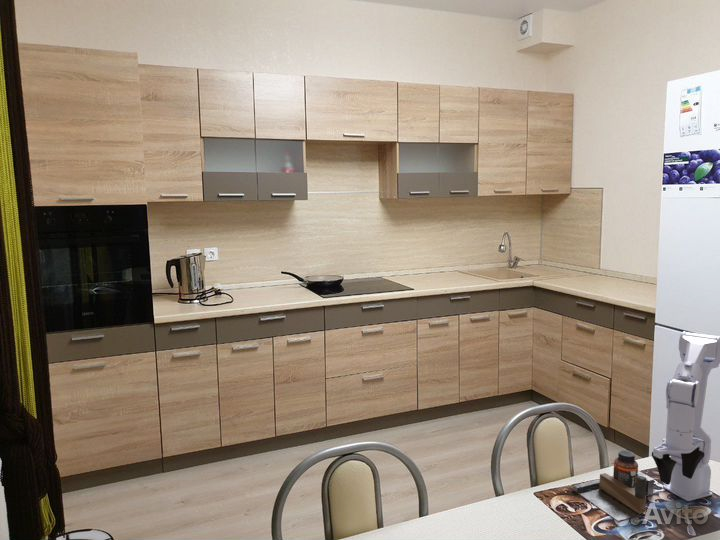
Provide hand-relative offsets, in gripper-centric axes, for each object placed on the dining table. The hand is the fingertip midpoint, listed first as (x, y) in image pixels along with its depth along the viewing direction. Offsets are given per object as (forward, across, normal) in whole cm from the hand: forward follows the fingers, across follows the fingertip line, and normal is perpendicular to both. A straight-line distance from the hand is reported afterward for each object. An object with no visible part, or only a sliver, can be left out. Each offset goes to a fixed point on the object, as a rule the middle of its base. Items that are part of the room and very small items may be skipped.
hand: (676, 479), depth 136 cm
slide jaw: (+10, +6, -11) cm, 16 cm away
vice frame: (+10, +4, -12) cm, 16 cm away
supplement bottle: (+11, +2, -14) cm, 18 cm away
